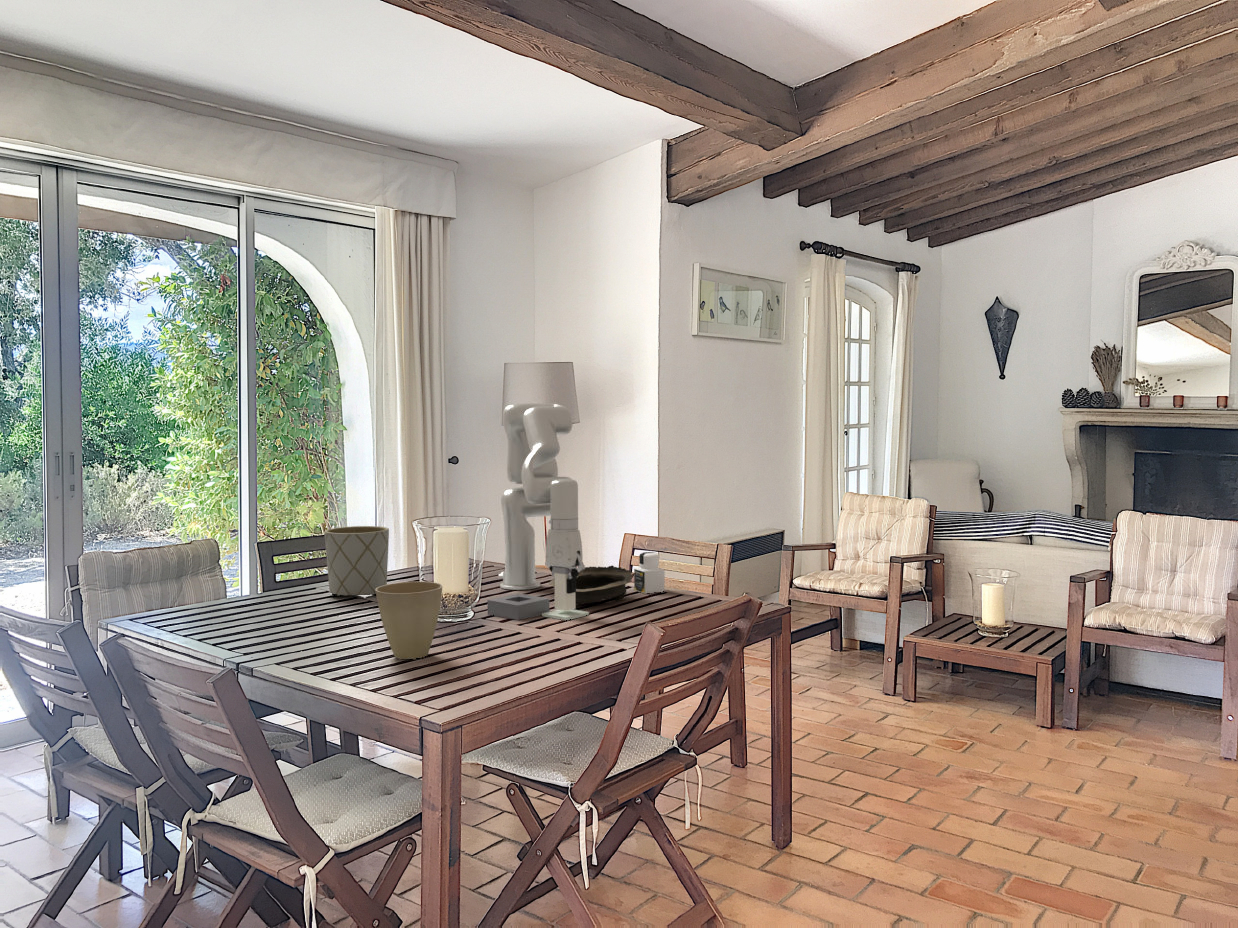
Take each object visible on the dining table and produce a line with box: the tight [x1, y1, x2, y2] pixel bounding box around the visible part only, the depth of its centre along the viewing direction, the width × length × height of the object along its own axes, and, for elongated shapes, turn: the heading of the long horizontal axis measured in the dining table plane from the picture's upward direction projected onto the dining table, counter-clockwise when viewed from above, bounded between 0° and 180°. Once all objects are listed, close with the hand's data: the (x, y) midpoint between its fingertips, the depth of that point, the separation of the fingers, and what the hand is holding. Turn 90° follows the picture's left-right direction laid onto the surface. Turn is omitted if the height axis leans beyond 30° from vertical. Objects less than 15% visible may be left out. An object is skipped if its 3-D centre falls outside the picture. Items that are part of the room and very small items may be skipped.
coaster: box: [541, 609, 590, 621], centre depth 263 cm, size 9×9×1 cm
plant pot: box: [375, 581, 443, 660], centre depth 220 cm, size 15×15×16 cm
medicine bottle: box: [633, 551, 666, 595], centre depth 298 cm, size 7×7×12 cm
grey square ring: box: [486, 593, 550, 621], centre depth 266 cm, size 12×12×4 cm
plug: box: [553, 567, 577, 611], centre depth 263 cm, size 5×5×12 cm
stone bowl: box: [548, 565, 634, 606], centre depth 283 cm, size 25×25×9 cm
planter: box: [323, 525, 390, 597], centre depth 297 cm, size 19×19×20 cm
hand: (565, 591), depth 263 cm, fingers closed on plug, 3 cm apart
